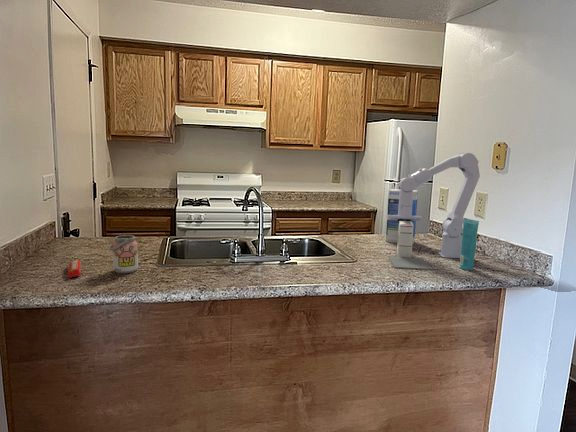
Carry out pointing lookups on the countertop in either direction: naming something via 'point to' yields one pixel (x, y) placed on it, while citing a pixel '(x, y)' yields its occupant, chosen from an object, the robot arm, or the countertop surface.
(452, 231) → the robot arm
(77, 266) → the candy bar
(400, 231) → the syrup box
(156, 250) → the countertop surface
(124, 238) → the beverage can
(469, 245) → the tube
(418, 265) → the mat
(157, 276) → the countertop surface
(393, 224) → the string lights box
